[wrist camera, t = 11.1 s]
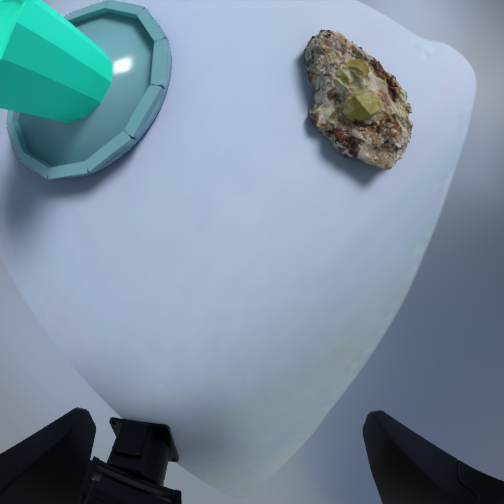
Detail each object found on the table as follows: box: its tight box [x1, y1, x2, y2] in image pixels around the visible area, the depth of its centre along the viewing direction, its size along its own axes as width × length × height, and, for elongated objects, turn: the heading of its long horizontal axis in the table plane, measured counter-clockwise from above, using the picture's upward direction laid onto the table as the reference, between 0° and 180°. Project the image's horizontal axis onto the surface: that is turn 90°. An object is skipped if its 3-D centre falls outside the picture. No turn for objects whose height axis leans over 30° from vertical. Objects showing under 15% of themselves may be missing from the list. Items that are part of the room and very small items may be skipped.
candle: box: [0, 0, 113, 123], centre depth 9 cm, size 6×6×12 cm
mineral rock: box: [304, 30, 413, 170], centre depth 16 cm, size 11×4×8 cm
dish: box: [6, 0, 172, 179], centre depth 15 cm, size 14×14×2 cm
